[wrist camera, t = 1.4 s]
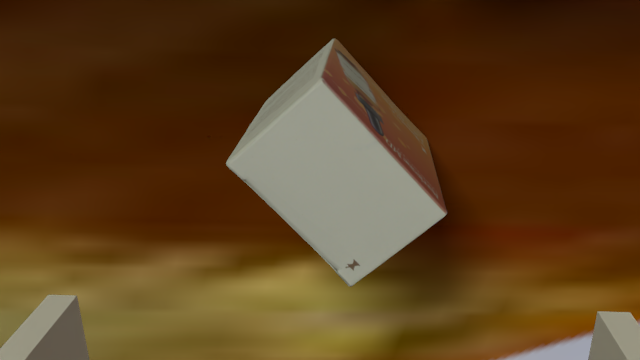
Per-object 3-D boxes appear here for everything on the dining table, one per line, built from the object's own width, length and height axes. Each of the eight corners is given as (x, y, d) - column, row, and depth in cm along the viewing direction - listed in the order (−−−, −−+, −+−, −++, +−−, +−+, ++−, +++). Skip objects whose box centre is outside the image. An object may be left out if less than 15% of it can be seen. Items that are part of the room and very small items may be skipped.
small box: (428, 138, 34) (454, 218, 25) (355, 197, 36) (352, 293, 26) (334, 33, 32) (322, 74, 23) (262, 100, 34) (221, 165, 24)
